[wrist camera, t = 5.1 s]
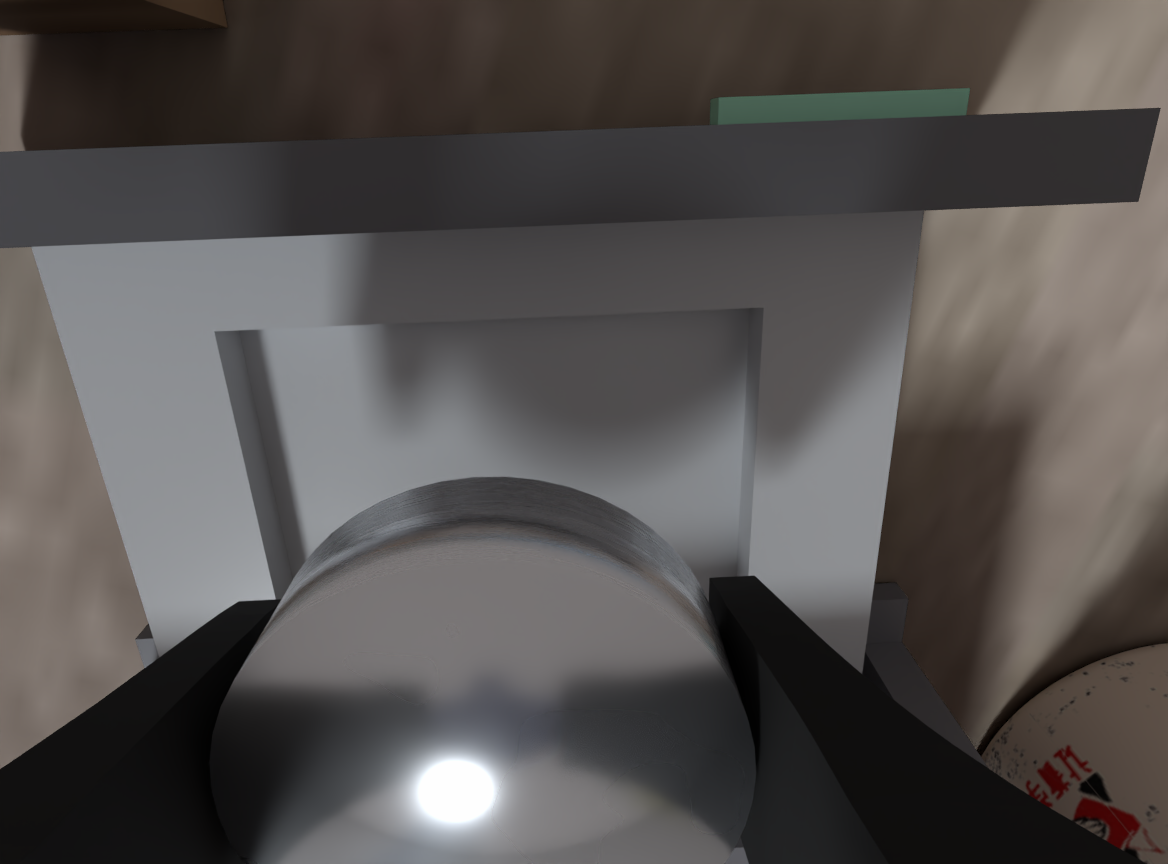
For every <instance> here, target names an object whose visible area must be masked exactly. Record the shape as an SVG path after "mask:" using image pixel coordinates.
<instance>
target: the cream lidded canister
mask: <svg viewBox="0 0 1168 864" xmlns="http://www.w3.org/2000/svg"><path fill="white" fill-rule="evenodd" d="M981 758H982V759H983V761H984V762H985V764H986V765H987V767H988V768H989V769H990V770H992V771H993V772H995V773H996V774H998V775H999V776H1001V777H1002V778H1004V779H1005V780H1007V781H1008V782H1010V783H1011V784H1013V785H1014V786H1016V787H1017V788H1019V789H1020V790H1022V791H1024V792H1025V793H1027V794H1028V795H1030V796H1032V797H1033V798H1035V799H1037V800H1038V801H1040V802H1041V803H1043V804H1045V805H1046V806H1048V807H1049V808H1051V809H1053V810H1054V811H1056V812H1058V813H1060V814H1061V815H1063V816H1065V817H1066V818H1068V819H1070V820H1072V821H1073V822H1075V823H1077V824H1078V825H1080V826H1082V827H1084V828H1085V829H1087V830H1089V831H1090V832H1092V833H1094V834H1096V835H1097V836H1099V837H1101V838H1102V839H1104V840H1106V841H1108V842H1109V843H1111V844H1113V845H1114V846H1116V847H1118V848H1120V849H1121V850H1123V851H1125V852H1127V853H1128V854H1130V855H1132V856H1134V857H1136V858H1138V859H1140V860H1141V861H1143V862H1145V863H1147V864H1168V643H1165V644H1157V645H1151V646H1146V647H1141V648H1137V649H1133V650H1129V651H1125V652H1121V653H1118V654H1115V655H1112V656H1109V657H1106V658H1104V659H1101V660H1099V661H1096V662H1094V663H1092V664H1089V665H1087V666H1085V667H1083V668H1081V669H1079V670H1077V671H1075V672H1073V673H1071V674H1069V675H1067V676H1065V677H1064V678H1062V679H1060V680H1058V681H1057V682H1055V683H1053V684H1052V685H1050V686H1049V687H1047V688H1046V689H1045V690H1043V691H1042V692H1040V693H1039V694H1037V695H1036V696H1035V697H1034V698H1032V699H1031V700H1030V701H1029V702H1027V703H1026V704H1025V705H1024V706H1023V707H1022V708H1020V709H1019V710H1018V711H1017V712H1016V713H1015V714H1014V715H1013V716H1012V717H1011V718H1010V719H1009V720H1008V721H1007V722H1006V723H1005V724H1004V725H1003V727H1002V728H1001V729H1000V730H999V731H998V733H997V734H996V735H995V736H994V738H993V739H992V740H991V742H990V743H989V745H988V746H987V748H986V750H985V751H984V753H983V754H982V756H981Z"/></svg>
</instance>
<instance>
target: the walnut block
mask: <svg viewBox="0 0 1168 864" xmlns="http://www.w3.org/2000/svg"><path fill="white" fill-rule="evenodd" d="M200 28H228V26H227V21H226V16H225V11H224V6H223V0H0V35H26V34H55V33H84V32H113V31H142V30H171V29H200Z"/></svg>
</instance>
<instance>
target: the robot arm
mask: <svg viewBox="0 0 1168 864" xmlns="http://www.w3.org/2000/svg"><path fill="white" fill-rule="evenodd" d="M280 601H281V599H274V600H254V601H238V602H237V603H235V604H234V605H232V606H230V607H229V608H227V609H226V610H224V611H223V612H221V613H220V614H218V615H217V616H215V617H214V618H213V619H211V620H210V621H208V622H207V623H206V624H204V625H203V626H201V627H200V628H199V629H197V630H196V631H195V632H193V633H192V634H190V635H189V636H188V637H186V638H185V639H184V640H182V641H181V642H180V643H178V644H177V645H176V646H174V647H173V648H172V649H170V650H169V651H167V652H166V653H165V654H163V655H162V656H161V657H159V658H158V659H157V660H155V661H154V662H153V663H151V664H150V665H148V666H147V667H146V668H144V669H143V670H142V671H140V672H139V673H138V674H136V675H135V676H133V677H132V678H131V679H129V680H128V681H127V682H125V683H124V684H123V685H121V686H120V687H118V688H117V689H116V690H114V691H113V692H112V693H110V694H109V695H108V696H106V697H105V698H103V699H102V700H101V701H99V702H98V703H96V704H95V705H94V706H92V707H91V708H89V709H88V710H86V711H85V712H83V713H82V714H81V715H79V716H78V717H76V718H75V719H73V720H72V721H70V722H69V723H67V724H66V725H64V726H63V727H62V728H60V729H59V730H57V731H56V732H54V733H53V734H51V735H50V736H48V737H47V738H45V739H44V740H43V741H41V742H40V743H38V744H37V745H35V746H34V747H32V748H31V749H29V750H28V751H26V752H25V753H24V754H22V755H21V756H19V757H18V758H16V759H15V760H13V761H12V762H10V763H9V764H7V765H6V766H4V767H3V768H1V769H0V864H243V862H242V861H241V859H240V857H239V856H238V854H237V853H236V851H235V850H234V848H233V846H232V845H231V843H230V842H229V840H228V838H227V835H226V833H225V831H224V828H223V826H222V824H221V822H220V819H219V817H218V814H217V810H216V806H215V802H214V798H213V794H212V790H211V779H210V765H209V760H210V751H211V742H212V734H213V730H214V727H215V724H216V720H217V717H218V714H219V710H220V707H221V705H222V703H223V701H224V699H225V697H226V695H227V693H228V691H229V689H230V687H231V685H232V683H233V681H234V679H235V678H236V676H237V674H238V673H239V671H240V669H241V667H242V666H243V664H244V662H245V661H246V659H247V657H248V656H249V654H250V652H251V650H252V649H253V647H254V645H255V644H256V642H257V640H258V639H259V637H260V635H261V633H262V632H263V630H264V628H265V627H266V625H267V623H268V622H269V620H270V618H271V616H272V615H273V613H274V611H275V610H276V608H277V606H278V605H279V603H280ZM709 605H710V607H711V610H712V612H713V615H714V618H715V621H716V624H717V627H718V630H719V633H720V636H721V639H722V642H723V645H724V648H725V651H726V654H727V657H728V660H729V663H730V666H731V669H732V672H733V675H734V678H735V681H736V684H737V688H738V691H739V694H740V697H741V700H742V703H743V706H744V709H745V712H746V715H747V718H748V721H749V725H750V729H751V734H752V738H753V742H754V747H755V763H756V779H755V788H754V796H753V802H752V805H751V809H750V812H749V815H748V819H747V822H746V825H745V827H744V830H743V832H742V834H741V836H740V837H741V840H742V844H743V847H744V850H745V853H746V856H747V859H748V862H749V864H1147V863H1145V862H1143V861H1141V860H1140V859H1138V858H1136V857H1134V856H1132V855H1130V854H1128V853H1127V852H1125V851H1123V850H1121V849H1120V848H1118V847H1116V846H1114V845H1113V844H1111V843H1109V842H1108V841H1106V840H1104V839H1102V838H1101V837H1099V836H1097V835H1096V834H1094V833H1092V832H1090V831H1089V830H1087V829H1085V828H1084V827H1082V826H1080V825H1078V824H1077V823H1075V822H1073V821H1072V820H1070V819H1068V818H1066V817H1065V816H1063V815H1061V814H1060V813H1058V812H1056V811H1054V810H1053V809H1051V808H1049V807H1048V806H1046V805H1045V804H1043V803H1041V802H1040V801H1038V800H1037V799H1035V798H1033V797H1032V796H1030V795H1028V794H1027V793H1025V792H1024V791H1022V790H1020V789H1019V788H1017V787H1016V786H1014V785H1013V784H1011V783H1010V782H1008V781H1007V780H1005V779H1004V778H1002V777H1001V776H999V775H998V774H996V773H995V772H993V771H992V770H990V769H989V768H987V767H986V766H984V765H983V764H981V763H980V762H978V761H977V760H975V759H974V758H972V757H971V756H969V755H968V754H967V753H965V752H964V751H962V750H961V749H959V748H958V747H956V746H955V745H953V744H952V743H950V742H949V741H948V740H946V739H945V738H944V737H942V736H941V735H939V734H938V733H937V732H935V731H934V730H932V729H931V728H930V727H928V726H927V725H926V724H924V723H923V722H922V721H921V720H919V719H918V718H917V717H915V716H914V715H913V714H912V713H910V712H909V711H908V710H906V709H905V708H904V707H903V706H901V705H900V704H899V703H897V702H896V701H895V700H894V699H892V698H891V697H890V696H888V695H887V694H886V693H885V692H883V691H882V690H881V689H880V688H878V687H877V686H876V685H875V684H874V683H872V682H871V681H870V680H869V679H867V678H866V677H865V676H864V675H863V674H861V673H860V672H859V671H858V670H857V669H856V668H854V667H853V666H852V665H851V664H850V663H849V662H848V661H846V660H845V659H844V658H843V657H842V656H841V655H840V654H838V653H837V652H836V651H835V650H834V649H833V648H832V647H830V646H829V645H828V644H827V643H826V642H825V641H824V640H823V639H822V638H821V637H819V636H818V635H817V634H816V633H815V632H814V631H813V630H812V629H811V628H810V627H809V626H808V625H807V624H805V623H804V622H803V621H802V620H801V619H800V618H799V617H798V616H797V615H796V614H795V613H794V612H793V611H792V610H791V609H790V608H788V607H787V606H786V605H785V604H784V603H783V602H782V601H781V600H780V599H779V598H778V597H777V596H776V595H775V594H774V593H773V592H772V591H771V590H769V589H768V588H767V587H766V586H765V585H764V584H763V583H762V582H761V581H760V580H759V579H758V578H757V577H756V576H735V577H715V578H709Z"/></svg>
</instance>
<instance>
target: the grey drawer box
mask: <svg viewBox="0 0 1168 864" xmlns="http://www.w3.org/2000/svg"><path fill="white" fill-rule="evenodd" d="M907 606H908V597H907V596H906V595H905V593H904V592H903V591H902V589H901V588H900V587H899V586H898V584H897V583H879V584H874V589H873V596H872V604H871V611H870V619H869V626H868V634H867V641H866V649H865V656H864V664H863V671H862V674H863V675H864V676H865V677H866V678H867V679H869V680H870V681H871V682H872V683H874V684H875V685H876V686H877V687H878V688H880V689H881V690H882V691H883V692H885V693H886V694H887V695H888V696H890V697H891V698H892V699H894V700H895V701H896V702H897V703H899V704H900V705H901V706H903V707H904V708H905V709H906V710H908V711H909V712H910V713H912V714H913V715H914V716H915V717H917V718H918V719H919V720H921V721H922V722H923V723H924V724H926V725H927V726H928V727H930V728H931V729H932V730H934V731H935V732H937V733H938V734H939V735H941V736H942V737H944V738H945V739H946V740H948V741H949V742H950V743H952V744H953V745H955V746H956V747H958V748H959V749H961V750H962V751H964V752H965V753H967V754H968V755H969V756H971V757H972V758H974V759H975V760H977V761H978V762H980V763H981V764H983V765H984V766H986V767H987V765H986V764H985V762H984V761H983V759H982V758H981V756H980V755H979V753H978V752H977V750H976V749H975V748H974V746H973V745H972V743H971V742H970V740H969V739H968V737H967V736H966V734H965V733H964V732H963V730H962V729H961V727H960V726H959V724H958V723H957V721H956V720H955V718H954V717H953V715H952V714H951V713H950V711H949V710H948V708H947V707H946V705H945V704H944V702H943V701H942V699H941V698H940V697H939V695H938V694H937V692H936V691H935V689H934V688H933V686H932V685H931V683H930V682H929V681H928V679H927V678H926V676H925V675H924V673H923V672H922V670H921V669H920V667H919V666H918V664H917V663H916V662H915V660H914V659H913V657H912V656H911V654H910V653H909V651H908V650H907V648H906V647H905V646H904V644H903V643H902V638H903V632H904V625H905V619H906V612H907ZM135 640H136V643H137V646H138V649H139V652H140V655H141V659H142V662H143V665H144V668H146V667H147V666H148V665H150V664H151V663H153V662H154V661H155V660H157V659H158V658H159V655H158V652H157V648H156V645H155V642H154V639H153V636H152V632H151V629H150V626H149V623H148V625H147V626H146V627H145V628H144V630H143V631H142V632H141V633H140V634H139V636H138V637H137V638H136V639H135ZM987 768H988V767H987ZM724 864H749V862H748V859H747V856H746V853H745V850H744V847H743V844H742V840H741V837H740V838H739V840H738V842H737V844H736V846H735V848H734V850H733V851H732V853H731V854H730V856H729V857H728V859H727V860H726V862H725V863H724Z"/></svg>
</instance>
